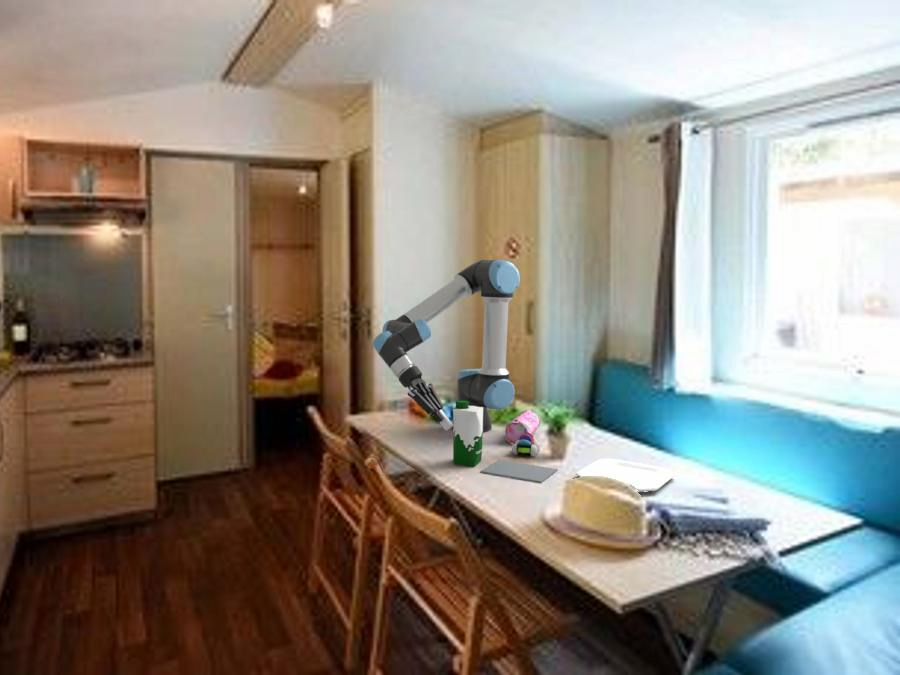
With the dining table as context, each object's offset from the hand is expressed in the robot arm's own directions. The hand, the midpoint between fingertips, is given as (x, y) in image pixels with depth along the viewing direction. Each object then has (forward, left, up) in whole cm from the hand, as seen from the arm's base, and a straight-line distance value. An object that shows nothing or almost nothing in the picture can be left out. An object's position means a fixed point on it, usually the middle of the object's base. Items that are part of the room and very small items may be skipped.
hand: (449, 428), depth 227 cm
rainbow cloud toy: (-23, +15, -11) cm, 30 cm away
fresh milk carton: (-2, +6, -11) cm, 13 cm away
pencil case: (-40, +3, -11) cm, 42 cm away
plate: (-20, +52, -11) cm, 57 cm away
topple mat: (-5, +24, -11) cm, 27 cm away
